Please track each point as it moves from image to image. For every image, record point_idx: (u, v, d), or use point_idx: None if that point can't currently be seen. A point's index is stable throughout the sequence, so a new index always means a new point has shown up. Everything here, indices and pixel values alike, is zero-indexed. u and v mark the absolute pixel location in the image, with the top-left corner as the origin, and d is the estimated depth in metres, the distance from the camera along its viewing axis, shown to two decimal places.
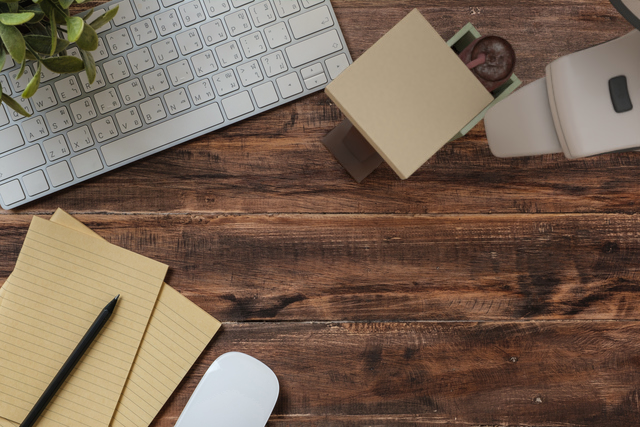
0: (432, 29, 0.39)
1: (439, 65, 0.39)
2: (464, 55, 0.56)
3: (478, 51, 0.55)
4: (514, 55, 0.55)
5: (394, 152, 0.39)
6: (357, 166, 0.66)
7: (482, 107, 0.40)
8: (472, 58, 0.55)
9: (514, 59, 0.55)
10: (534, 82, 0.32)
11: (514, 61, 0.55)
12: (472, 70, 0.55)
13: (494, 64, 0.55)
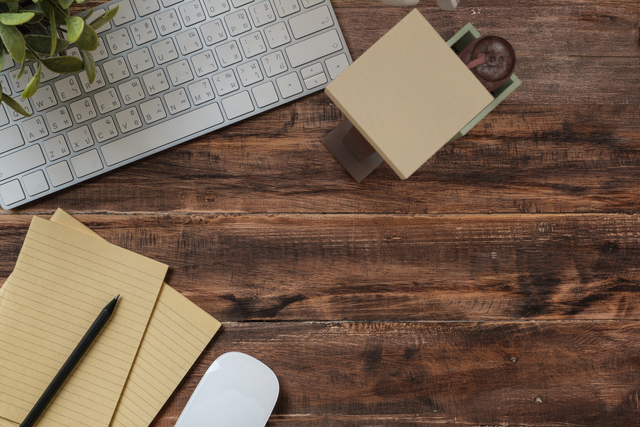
0: (432, 29, 0.39)
1: (439, 65, 0.39)
2: (464, 55, 0.56)
3: (478, 51, 0.55)
4: (514, 55, 0.55)
5: (394, 152, 0.39)
6: (357, 166, 0.66)
7: (482, 107, 0.40)
8: (472, 58, 0.55)
9: (514, 59, 0.55)
10: None
11: (514, 61, 0.55)
12: (472, 70, 0.55)
13: (494, 64, 0.55)
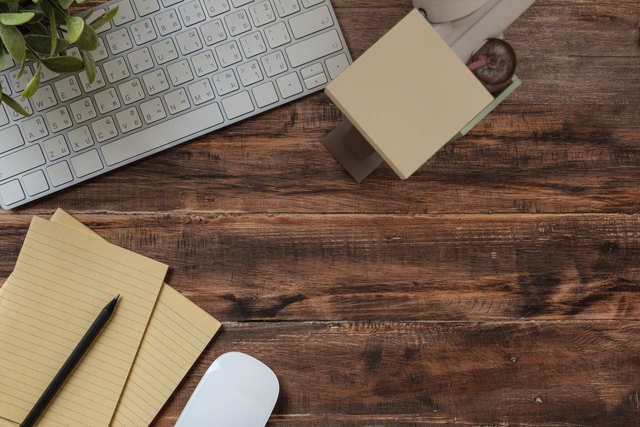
0: (432, 29, 0.39)
1: (439, 65, 0.39)
2: None
3: (479, 53, 0.55)
4: (515, 59, 0.55)
5: (394, 152, 0.39)
6: (357, 166, 0.66)
7: (482, 107, 0.40)
8: (473, 60, 0.55)
9: (515, 63, 0.55)
10: None
11: (515, 65, 0.55)
12: (472, 72, 0.55)
13: (495, 67, 0.55)
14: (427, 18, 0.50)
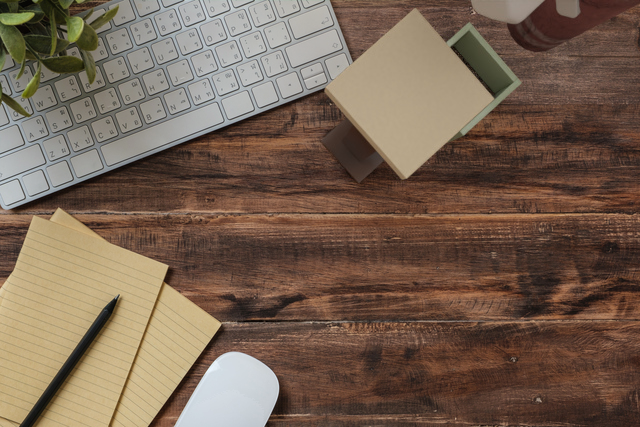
0: (432, 29, 0.39)
1: (439, 65, 0.39)
2: None
3: None
4: None
5: (394, 152, 0.39)
6: (357, 166, 0.66)
7: (482, 107, 0.40)
8: None
9: None
10: None
11: None
12: None
13: None
14: None
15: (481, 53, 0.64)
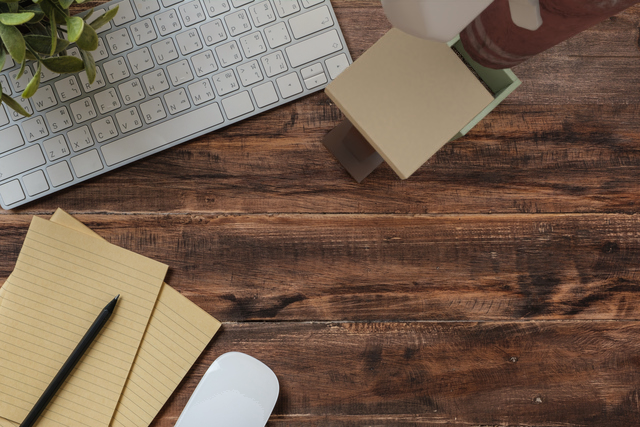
0: None
1: (439, 65, 0.39)
2: None
3: None
4: None
5: (394, 152, 0.39)
6: (357, 166, 0.66)
7: (482, 107, 0.40)
8: None
9: None
10: None
11: None
12: None
13: None
14: None
15: None
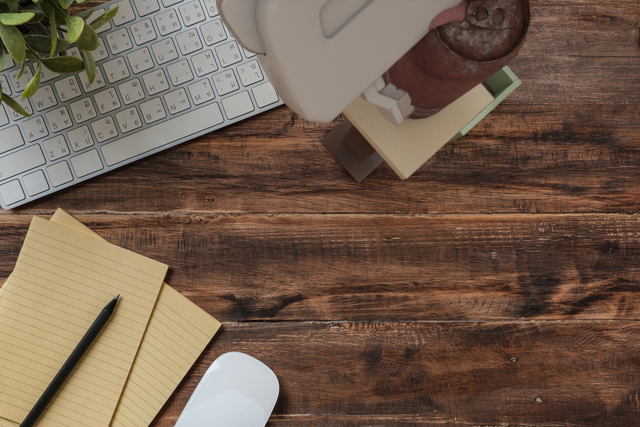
0: None
1: None
2: None
3: None
4: (528, 9, 0.26)
5: (394, 152, 0.39)
6: (357, 166, 0.66)
7: (482, 107, 0.40)
8: None
9: (528, 17, 0.26)
10: None
11: (527, 22, 0.26)
12: (435, 33, 0.25)
13: (483, 25, 0.26)
14: None
15: None
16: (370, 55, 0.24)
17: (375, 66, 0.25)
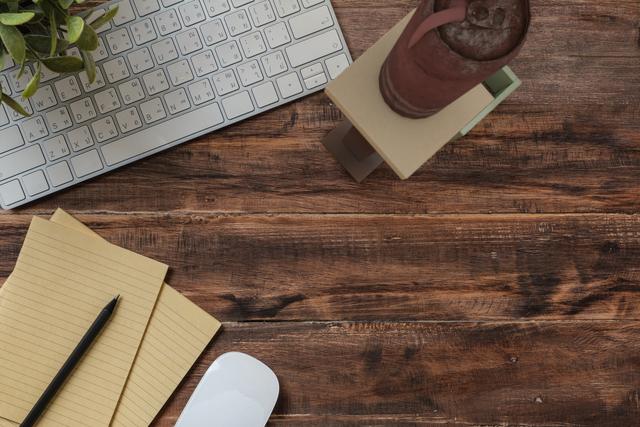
0: None
1: None
2: (423, 2, 0.26)
3: None
4: (528, 9, 0.26)
5: (394, 152, 0.39)
6: (357, 166, 0.66)
7: (482, 107, 0.40)
8: (438, 8, 0.26)
9: (528, 17, 0.26)
10: None
11: (527, 22, 0.26)
12: (435, 33, 0.25)
13: (484, 24, 0.26)
14: None
15: None
16: None
17: None
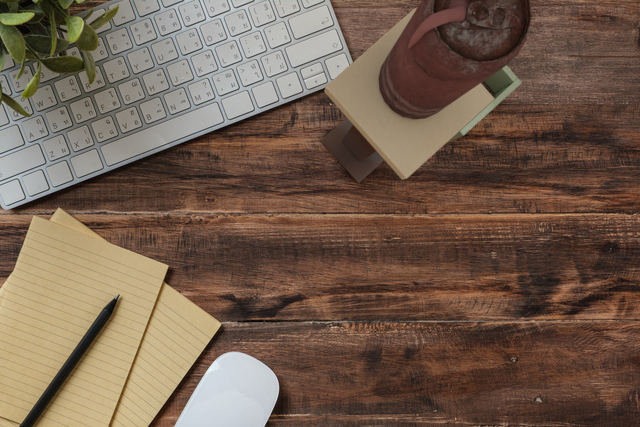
0: None
1: None
2: (423, 2, 0.26)
3: None
4: (528, 9, 0.26)
5: (394, 152, 0.39)
6: (357, 166, 0.66)
7: (482, 107, 0.40)
8: (438, 8, 0.26)
9: (528, 17, 0.26)
10: None
11: (527, 22, 0.26)
12: (436, 33, 0.25)
13: (484, 24, 0.26)
14: None
15: None
16: None
17: None
